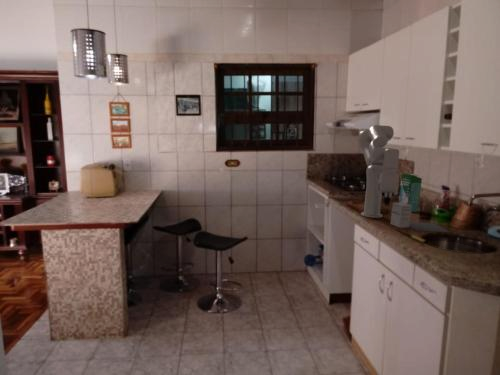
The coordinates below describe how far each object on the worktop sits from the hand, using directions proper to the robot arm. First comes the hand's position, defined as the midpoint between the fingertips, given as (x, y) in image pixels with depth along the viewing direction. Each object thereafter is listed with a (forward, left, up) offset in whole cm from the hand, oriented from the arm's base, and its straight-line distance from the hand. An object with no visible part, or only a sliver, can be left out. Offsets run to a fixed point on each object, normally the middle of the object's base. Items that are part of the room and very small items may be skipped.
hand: (386, 204), depth 200 cm
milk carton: (-47, +32, -12) cm, 58 cm away
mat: (-1, +23, -12) cm, 26 cm away
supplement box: (-1, +9, -12) cm, 15 cm away
